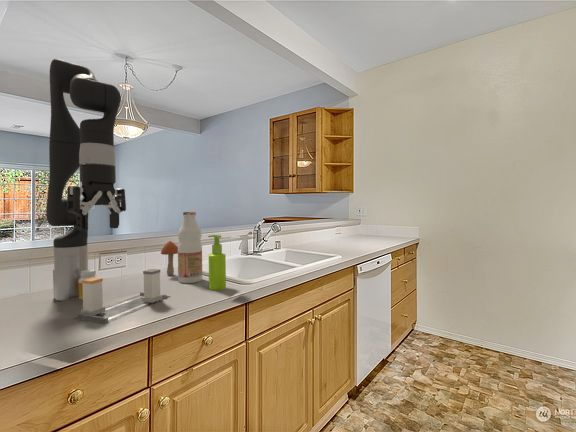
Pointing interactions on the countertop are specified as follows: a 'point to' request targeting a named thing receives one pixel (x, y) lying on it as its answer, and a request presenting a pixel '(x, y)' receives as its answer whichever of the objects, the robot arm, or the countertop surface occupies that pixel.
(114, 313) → the grey flat plate
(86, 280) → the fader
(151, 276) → the block
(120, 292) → the countertop surface
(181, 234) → the fruit juice
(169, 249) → the mushroom
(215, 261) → the soap dispenser
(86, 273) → the supplement bottle
